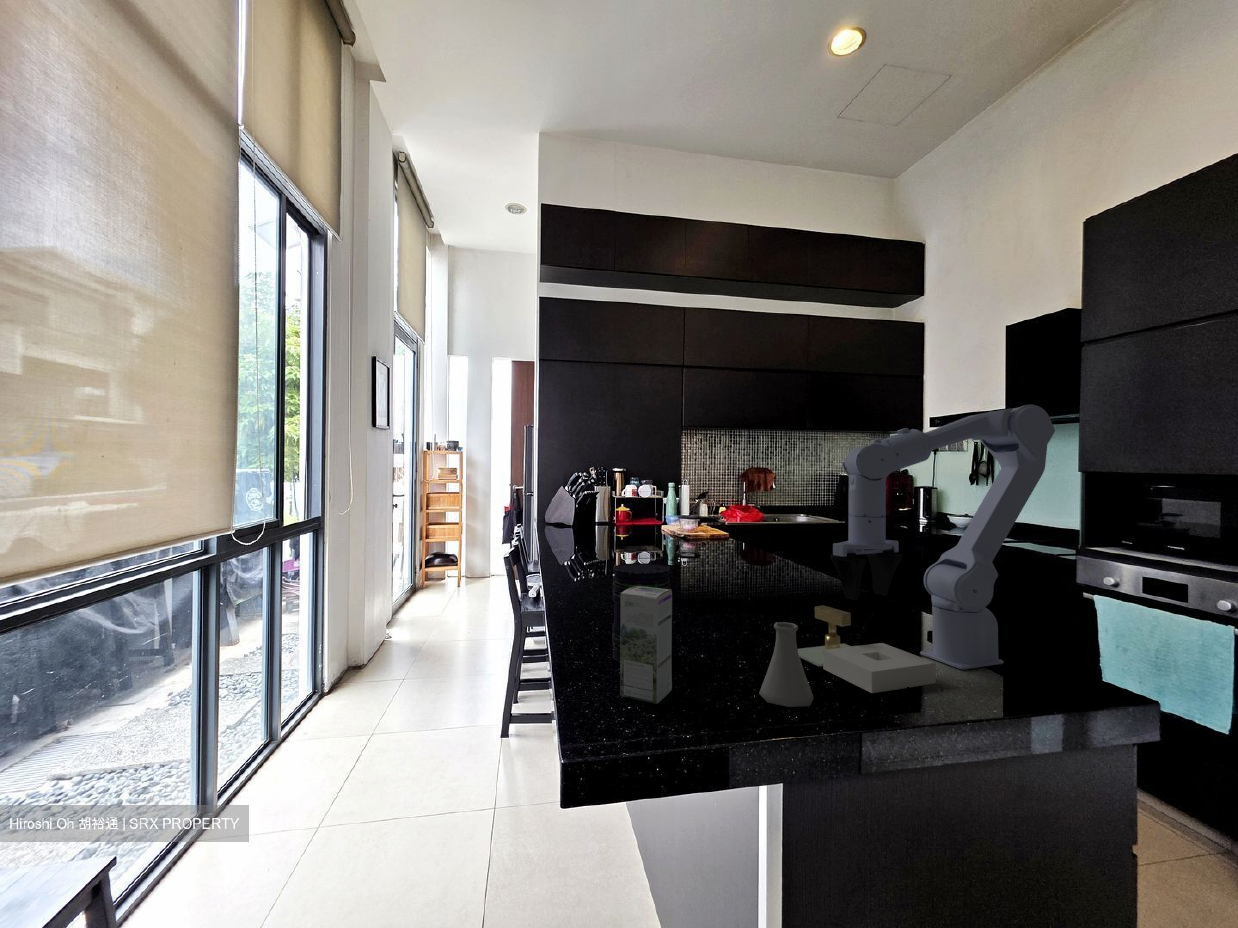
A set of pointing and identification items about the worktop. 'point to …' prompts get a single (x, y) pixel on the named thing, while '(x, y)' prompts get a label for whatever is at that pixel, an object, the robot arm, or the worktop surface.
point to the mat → (815, 654)
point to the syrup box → (646, 643)
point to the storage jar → (629, 578)
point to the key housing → (879, 667)
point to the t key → (832, 623)
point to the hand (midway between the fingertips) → (866, 596)
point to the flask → (786, 671)
